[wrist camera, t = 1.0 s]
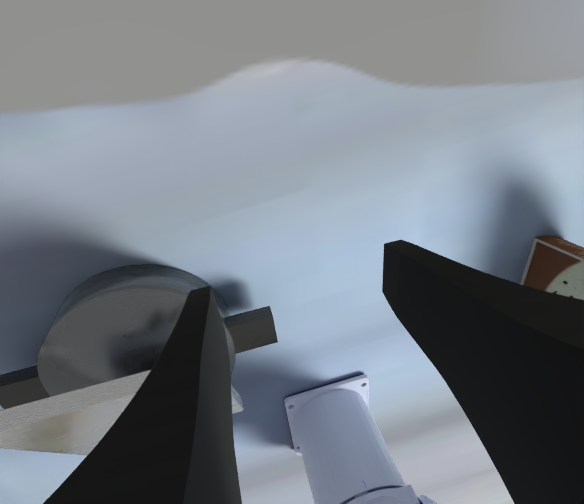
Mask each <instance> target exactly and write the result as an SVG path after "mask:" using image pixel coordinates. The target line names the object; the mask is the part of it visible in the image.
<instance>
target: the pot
mask: <svg viewBox="0 0 584 504" xmlns="http://www.w3.org/2000/svg"><path fill="white" fill-rule="evenodd" d="M207 286H210V285H209V284H208V283H206V282H205V281H203V280H202V279H200V278H198V277H196V276H194V275H192V274H190V273H187V272H185V271H182V270H179V269H175V268H171V267H166V266H159V265H131V266H125V267H119V268H115V269H112V270H108V271H105V272H103V273H100V274H98V275H96V276H94V277H92V278H90V279H88V280H86V281H85V282H83V283H82V284H81V285H79V286H78V287H77V288H75V290H74V291H73V292H72V293H71V294H70V295H69V296H68V297H67V298H66V300H65V301H64V303H63V304H62V306H61V308H60V310H59V312H58V314H57V316H56V318H55V320H54V322H53V324H52V326H51V328H50V330H49V331H48V333H47V335H46V337H45V339H44V341H43V344H42V346H41V348H40V350H39V354H38V359H37V366H33V367H29V368H25V369H21V370H17V371H13V372H10V373H6V374H2V375H0V405H1V406H2V407H3V408H4V409H8V408H12V407H15V406H19V405H23V404H26V403H30V402H34V401H38V400H41V399H45V398H49V397H52V396H56V395H60V394H63V393H67V392H71V391H75V390H78V389H82V388H86V387H89V386H93V385H97V384H100V383H104V382H108V381H112V380H115V379H119V378H123V377H126V376H130V375H134V374H137V373H141V372H145V371H149V370H151V369H152V367H153V366H154V364H155V362H156V360H157V358H158V357H159V355H160V353H161V351H162V350H163V348H164V346H165V344H166V342H167V340H168V338H169V336H170V334H171V332H172V330H173V328H174V326H175V324H176V322H177V320H178V318H179V315H180V313H181V311H182V309H183V306H184V304H185V301H186V299H187V296H188V294H189V292H190V291H191V290H194V289H198V288H203V287H207ZM211 288H212V287H211ZM212 291H213V294H214V297H215V300H216V304H217V307H218V310H219V313H220V317H221V320H222V323H223V326H224V329H225V333H226V339H227V345H228V351H229V358H230V371H231V374H232V371H233V368H234V363H235V354H236V353H240V352H243V351H247V350H251V349H254V348H258V347H261V346H265V345H269V344H272V343H276V342H278V341H277V336H276V331H275V326H274V321H273V316H272V312H271V309H270V306H267V307H263V308H260V309H256V310H252V311H248V312H244V313H240V314H236V315H232V316H230V315H229V311H228V308H227V306H226V304H225V302H224V300H223V299H222V297H221V296H220V295H219V294H218V292H217V291H216V290H215V289H214V288H212Z"/></svg>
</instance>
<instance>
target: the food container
mask: <svg viewBox="0 0 584 504" xmlns="http://www.w3.org/2000/svg"><path fill="white" fill-rule="evenodd" d="M520 284H521V285H525V286H528V287H532V288H535V289H539V290H542V291H546V292H550V293H554V294H559V295H563V296H568V297H572V298H577V299H581V300H584V248H583V247H581V246H578V245H576V244H573V243H571V242H568V241H566V240H563V239H561V238H558V237H555V236H540V237H535V238H534V241H533V244H532V247H531V250H530V254H529V257H528V260H527V263H526V266H525V270H524V273H523V276H522V279H521V282H520Z"/></svg>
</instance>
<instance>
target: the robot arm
mask: <svg viewBox="0 0 584 504" xmlns="http://www.w3.org/2000/svg"><path fill="white" fill-rule="evenodd" d="M382 292H383V294H384V295H385V297H386V299H387V301H388V303H389V305H390V306H391V308H392V310H393V311H394V313H395V315H396V316H397V318H398V319H399V320H400V322H401V323H402V324H403V326H404V327H405V328H406V330H407V331H408V332H409V334H410V335H411V336H412V338H413V339H414V340H415V341H416V343H417V344H418V345H419V347H420V348H421V349H422V350H423V352H424V353H425V354H426V356H427V357H428V358H429V360H430V361H431V362H432V363H433V365H434V366H435V367H436V369H437V370H438V371H439V373H440V374H441V376H442V377H443V379H444V380H445V381H446V383H447V385H448V386H449V388H450V390H451V391H452V393H453V394H454V396H455V398H456V399H457V401H458V402H459V404H460V406H461V407H462V409H463V411H464V412H465V414H466V416H467V417H468V419H469V421H470V422H471V424H472V426H473V428H474V429H475V431H476V433H477V434H478V436H479V438H480V440H481V441H482V443H483V445H484V447H485V449H486V451H487V452H488V454H489V456H490V458H491V460H492V461H493V463H494V465H495V467H496V469H497V471H498V472H499V474H500V476H501V478H502V480H503V482H504V484H505V486H506V488H507V490H508V492H509V494H510V496H511V498H512V499H513V501H514V503H515V504H584V300H581V299H577V298H572V297H568V296H563V295H559V294H554V293H550V292H546V291H542V290H539V289H535V288H532V287H528V286H525V285H521V284H518V283H514V282H511V281H508V280H505V279H501V278H498V277H496V276H493V275H490V274H487V273H484V272H481V271H479V270H476V269H473V268H471V267H468V266H465V265H463V264H460V263H458V262H455V261H453V260H450V259H448V258H446V257H443V256H441V255H438V254H436V253H434V252H431V251H429V250H427V249H424V248H422V247H419V246H417V245H414V244H412V243H409V242H406V241H403V240H398V241H394V242H389V243H385V244H384V262H383V289H382ZM368 392H369V379H368V377H367V375H360V376H357V377H353V378H350V379H347V380H343V381H340V382H337V383H333V384H330V385H326V386H323V387H320V388H316V389H313V390H310V391H306V392H303V393H300V394H296V395H293V396H290V397H287V398H286V399H285V400H284V402H285V407H286V412H287V417H288V421H289V426H290V431H291V435H292V440H293V445H294V450H295V454H296V455H302V458H303V461H304V465H305V469H306V473H307V476H308V480H309V484H310V488H311V491H312V495H313V499H314V503H315V504H437V503H436V502H434V501H432V500H431V499H429V498H428V497H427V496H425V495H421V496H419V497H417V496H416V494H415V492H414V490H413V488H412V486H411V485H407V486H406V485H405V482H404V480H403V478H402V476H401V474H400V472H399V470H398V468H397V466H396V464H395V462H394V460H393V458H392V456H391V454H390V452H389V450H388V448H387V445H386V443H385V441H384V439H383V437H382V435H381V433H380V431H379V429H378V427H377V425H376V423H375V421H374V419H373V417H372V415H371V413H370V411H369V408H368ZM43 504H242V501H241V494H240V487H239V480H238V472H237V465H236V457H235V450H234V439H233V423H232V396H231V371H230V358H229V351H228V345H227V339H226V333H225V329H224V326H223V323H222V320H221V317H220V313H219V310H218V307H217V304H216V300H215V297H214V294H213V291H212V288H211V286H207V287H203V288H198V289H194V290H191V291H190V292H189V294H188V296H187V299H186V301H185V304H184V306H183V309H182V311H181V313H180V315H179V318H178V320H177V322H176V324H175V326H174V328H173V330H172V332H171V334H170V336H169V338H168V340H167V342H166V344H165V346H164V348H163V350H162V351H161V353H160V355H159V357H158V358H157V360H156V362H155V364H154V366H153V367H152V369H151V371H150V372H149V374H148V375H147V377H146V379H145V380H144V382H143V383H142V385H141V386H140V388H139V389H138V391H137V392H136V394H135V395H134V397H133V398H132V400H131V401H130V402H129V404H128V405H127V407H126V408H125V409H124V411H123V412H122V413H121V415H120V416H119V417H118V419H117V420H116V421H115V423H114V424H113V425H112V426H111V428H110V429H109V430H108V431H107V433H106V434H105V435H104V437H103V438H102V439H101V440H100V442H99V443H98V444H97V445H96V446H95V447H94V449H93V450H92V451H91V452H90V453H89V454H88V455H87V457H86V458H85V459H84V460H83V461H82V462H81V463H80V465H79V466H78V467H77V468H76V469H75V470H74V471H73V472H72V473H71V475H70V476H69V477H68V478H67V479H66V480H65V481H64V482H63V483H62V484H61V486H60V487H59V488H58V489H57V490H56V491H55V492H54V493H53V494H52V495H51V496H50V497H49V498H48V499H47V500H46V501H45V502H44V503H43Z"/></svg>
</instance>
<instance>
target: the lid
mask: <svg viewBox="0 0 584 504" xmlns="http://www.w3.org/2000/svg"><path fill="white" fill-rule="evenodd" d="M150 371H151V370H149V371H145V372H141V373H137V374H134V375H130V376H126V377H123V378H119V379H115V380H112V381H108V382H104V383H100V384H97V385H93V386H89V387H86V388H82V389H78V390H75V391H71V392H67V393H63V394H60V395H56V396H52V397H49V398H45V399H41V400H38V401H34V402H30V403H26V404H23V405H19V406H15V407H12V408H8V409H4V410H0V448H3V449H15V450H27V451H40V452H52V453H65V454H77V455H88V454H89V453H90V452H91V451H92V450H93V449H94V447H95V446H96V445H97V444H98V443H99V442H100V440H101V439H102V438H103V437H104V435H105V434H106V433H107V431H108V430H109V429H110V428H111V426H112V425H113V424H114V423H115V421H116V420H117V419H118V417H119V416H120V415H121V413H122V412H123V411H124V409H125V408H126V407H127V405H128V404H129V402H130V401H131V400H132V398H133V397H134V395H135V394H136V392H137V391H138V389H139V388H140V386H141V385H142V383H143V382H144V380H145V379H146V377H147V375H148V374H149V372H150ZM231 396H232V414H234V413H237V412H241V411H244V408H243V403H242V398H241V397H240V395H239V394H238V393H237V391H236V390H235V388H234V387H233V385H232V384H231Z"/></svg>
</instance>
